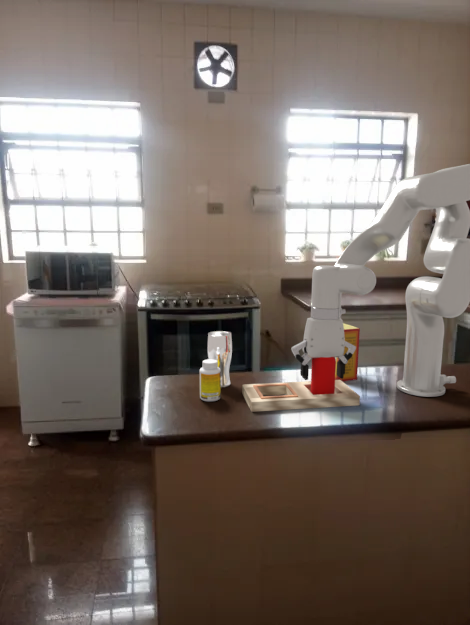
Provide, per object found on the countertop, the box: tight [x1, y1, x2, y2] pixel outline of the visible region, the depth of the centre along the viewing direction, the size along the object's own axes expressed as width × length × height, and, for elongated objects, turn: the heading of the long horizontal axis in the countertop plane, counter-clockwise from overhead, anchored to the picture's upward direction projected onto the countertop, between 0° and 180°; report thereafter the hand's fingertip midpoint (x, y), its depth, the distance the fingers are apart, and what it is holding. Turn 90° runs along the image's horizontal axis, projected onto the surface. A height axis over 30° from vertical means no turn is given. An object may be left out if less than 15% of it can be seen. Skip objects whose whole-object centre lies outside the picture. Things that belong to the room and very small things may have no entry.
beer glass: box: [207, 330, 233, 388], centre depth 130 cm, size 7×7×15 cm
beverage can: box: [310, 356, 336, 395], centre depth 120 cm, size 6×6×12 cm
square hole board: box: [241, 380, 361, 413], centre depth 119 cm, size 28×13×3 cm, turn 99°
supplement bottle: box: [198, 358, 222, 403], centre depth 119 cm, size 6×6×10 cm
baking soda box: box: [335, 322, 361, 382], centre depth 138 cm, size 10×6×16 cm
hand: (322, 377), depth 120 cm, fingers open, 9 cm apart
